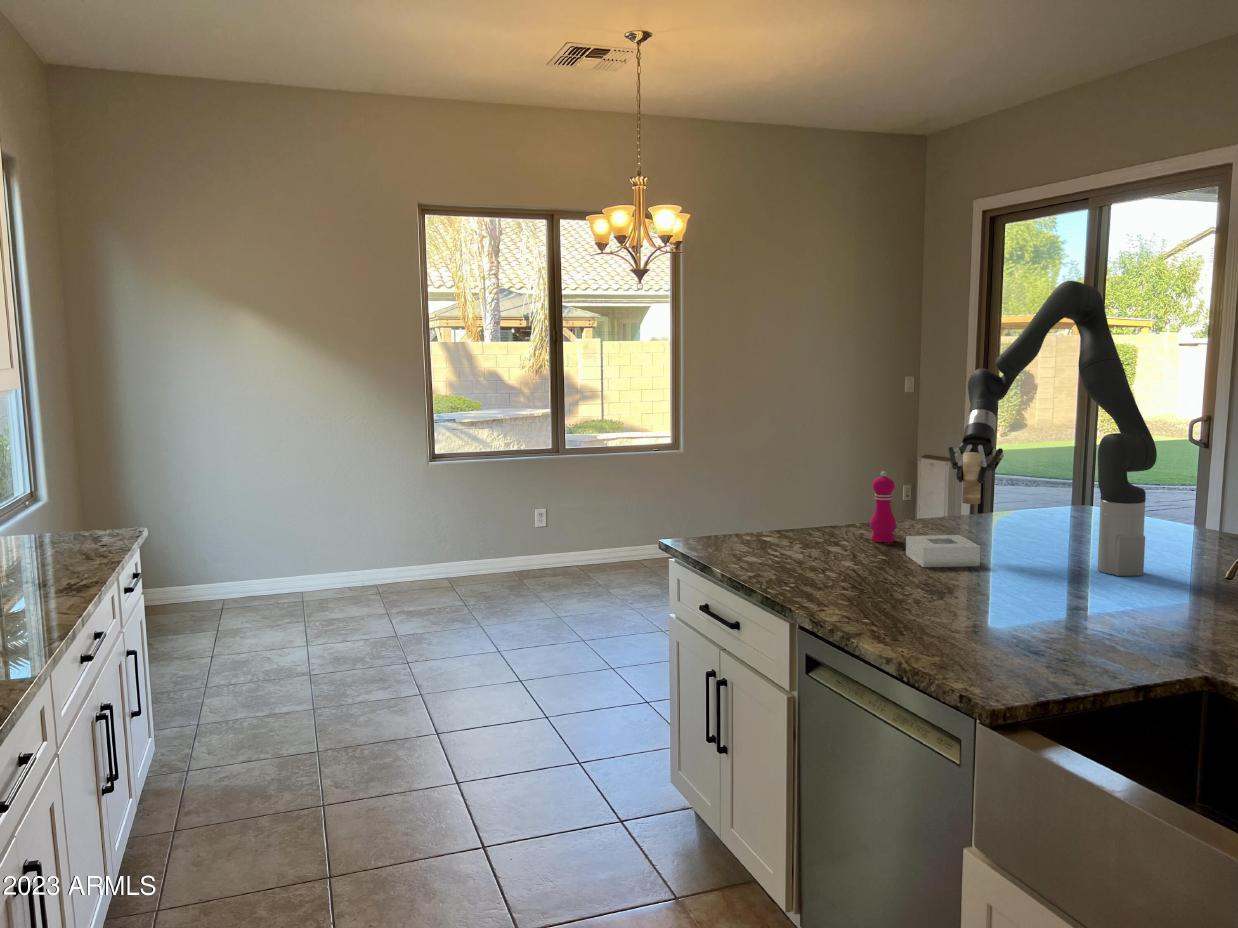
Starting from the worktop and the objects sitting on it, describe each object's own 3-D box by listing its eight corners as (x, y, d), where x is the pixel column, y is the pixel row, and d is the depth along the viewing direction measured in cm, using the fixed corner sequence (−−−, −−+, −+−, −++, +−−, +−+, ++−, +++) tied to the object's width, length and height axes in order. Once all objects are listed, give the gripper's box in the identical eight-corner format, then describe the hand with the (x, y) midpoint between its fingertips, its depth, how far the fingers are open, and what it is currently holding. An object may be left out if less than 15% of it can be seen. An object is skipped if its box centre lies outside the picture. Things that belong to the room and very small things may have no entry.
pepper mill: (893, 537, 249) (893, 469, 247) (898, 543, 242) (899, 472, 240) (867, 537, 250) (868, 469, 248) (872, 543, 243) (873, 473, 241)
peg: (982, 503, 222) (984, 454, 221) (965, 504, 222) (966, 454, 221) (976, 501, 227) (977, 452, 225) (959, 501, 227) (960, 452, 225)
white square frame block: (979, 566, 214) (980, 546, 213) (923, 567, 214) (923, 547, 214) (958, 553, 228) (959, 534, 227) (905, 554, 228) (906, 536, 228)
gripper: (949, 420, 232) (939, 470, 223) (1007, 421, 224) (998, 473, 216) (953, 438, 237) (943, 488, 228) (1009, 439, 229) (1001, 491, 221)
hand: (970, 480), depth 222 cm, fingers closed on peg, 4 cm apart
